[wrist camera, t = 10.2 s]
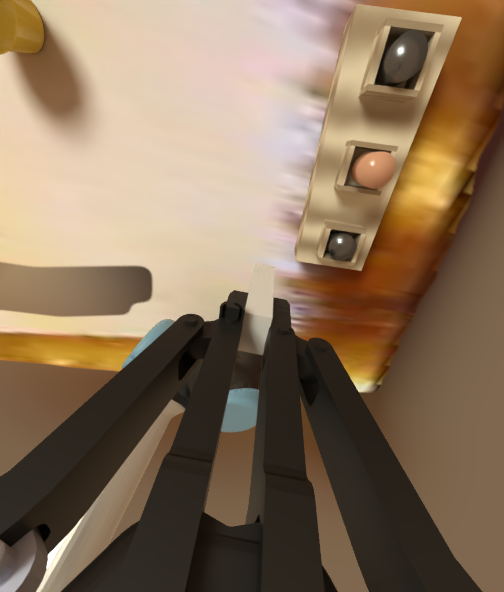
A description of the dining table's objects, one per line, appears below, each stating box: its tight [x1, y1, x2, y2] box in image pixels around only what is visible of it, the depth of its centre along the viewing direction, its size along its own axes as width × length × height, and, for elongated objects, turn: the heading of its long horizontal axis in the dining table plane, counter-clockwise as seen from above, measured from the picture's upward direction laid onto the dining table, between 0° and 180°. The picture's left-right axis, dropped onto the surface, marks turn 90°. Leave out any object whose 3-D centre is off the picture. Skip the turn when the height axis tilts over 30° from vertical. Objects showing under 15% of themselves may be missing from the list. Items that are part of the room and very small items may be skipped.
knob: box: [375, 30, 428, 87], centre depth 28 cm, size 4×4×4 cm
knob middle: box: [351, 152, 396, 189], centre depth 31 cm, size 4×4×4 cm
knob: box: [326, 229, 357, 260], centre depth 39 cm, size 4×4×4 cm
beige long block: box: [295, 4, 462, 271], centre depth 36 cm, size 32×12×10 cm, turn 173°
